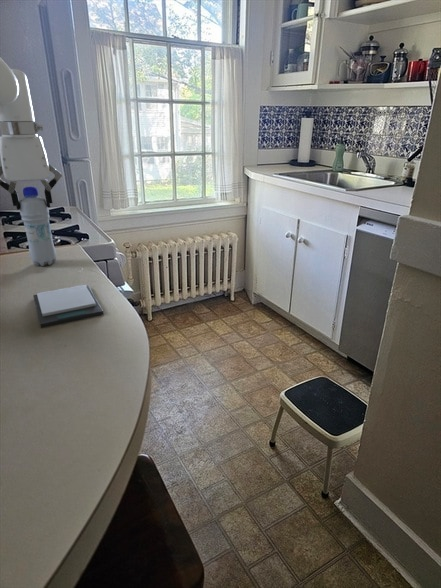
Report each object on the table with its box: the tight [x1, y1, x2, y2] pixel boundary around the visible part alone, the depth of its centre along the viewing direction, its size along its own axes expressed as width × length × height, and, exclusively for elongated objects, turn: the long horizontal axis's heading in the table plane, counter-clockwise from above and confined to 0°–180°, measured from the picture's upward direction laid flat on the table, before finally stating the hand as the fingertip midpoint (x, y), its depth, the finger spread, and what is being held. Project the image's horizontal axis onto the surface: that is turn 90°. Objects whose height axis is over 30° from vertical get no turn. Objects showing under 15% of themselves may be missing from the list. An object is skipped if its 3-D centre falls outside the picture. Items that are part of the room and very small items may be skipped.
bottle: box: [19, 186, 57, 267], centre depth 100 cm, size 7×7×20 cm
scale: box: [33, 284, 105, 329], centre depth 77 cm, size 14×11×3 cm
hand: (33, 206), depth 98 cm, fingers closed on bottle, 6 cm apart
